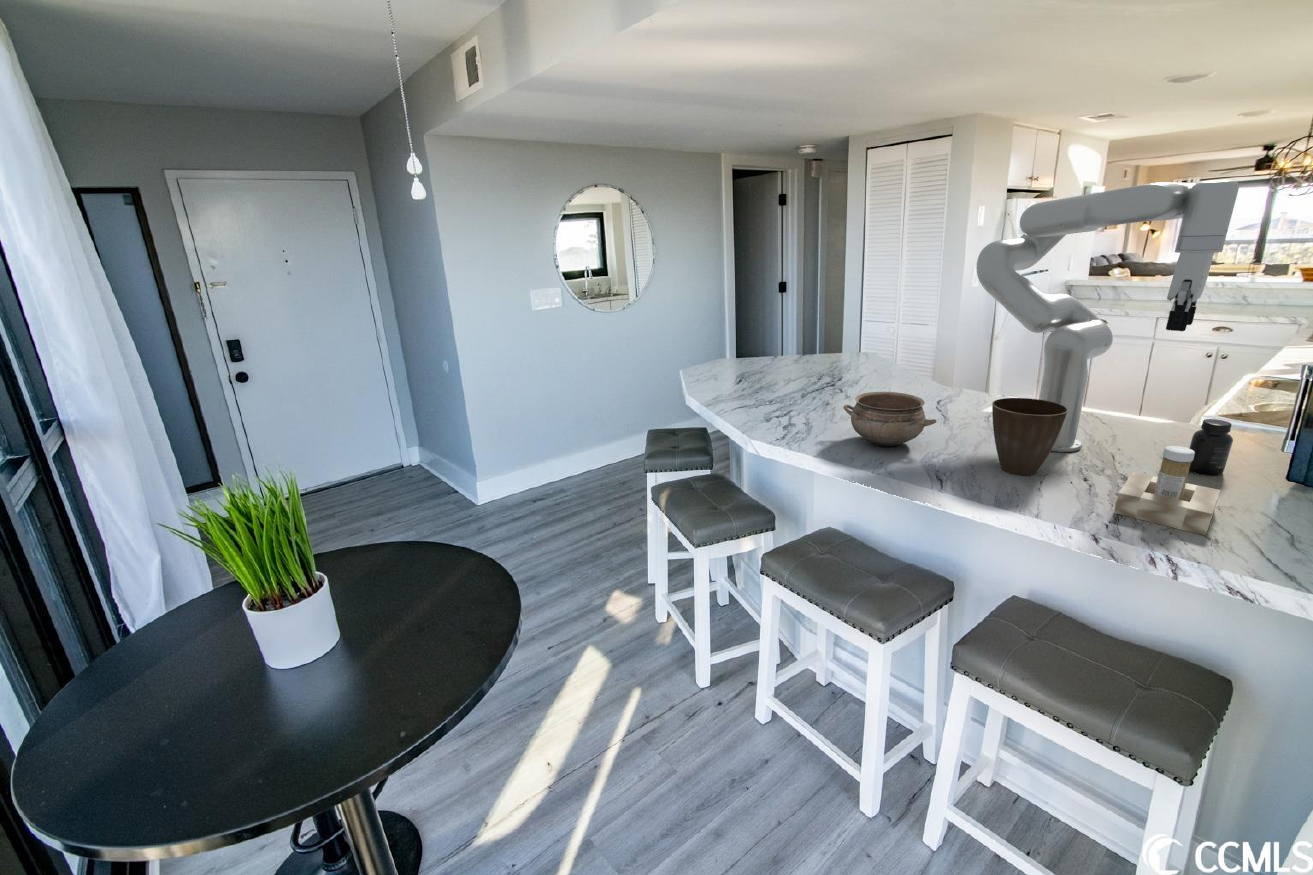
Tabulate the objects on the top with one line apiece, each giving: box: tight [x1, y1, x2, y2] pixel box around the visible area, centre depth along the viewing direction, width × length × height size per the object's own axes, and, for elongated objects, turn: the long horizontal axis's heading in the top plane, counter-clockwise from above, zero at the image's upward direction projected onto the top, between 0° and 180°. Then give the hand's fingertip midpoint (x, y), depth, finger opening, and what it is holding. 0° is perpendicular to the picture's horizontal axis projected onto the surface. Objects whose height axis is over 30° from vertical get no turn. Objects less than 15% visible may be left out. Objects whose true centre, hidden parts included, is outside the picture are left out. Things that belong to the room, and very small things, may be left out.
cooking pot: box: [843, 391, 938, 448], centre depth 161 cm, size 25×19×12 cm
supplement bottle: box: [1188, 418, 1234, 477], centre depth 136 cm, size 7×7×12 cm
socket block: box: [1113, 471, 1221, 536], centre depth 119 cm, size 14×14×4 cm
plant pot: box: [991, 397, 1068, 476], centre depth 140 cm, size 15×15×16 cm
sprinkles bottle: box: [1154, 445, 1195, 500], centre depth 118 cm, size 5×5×13 cm
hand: (1178, 327), depth 129 cm, fingers open, 9 cm apart
